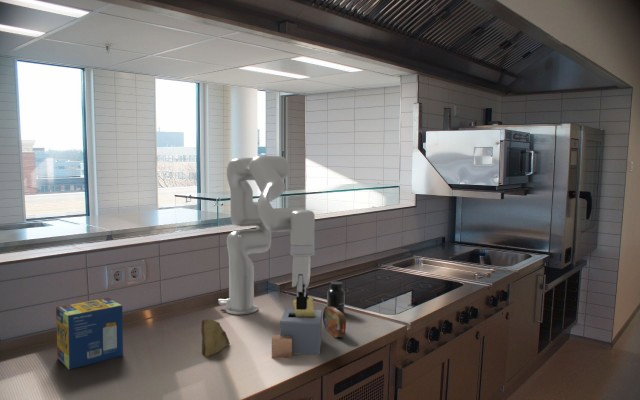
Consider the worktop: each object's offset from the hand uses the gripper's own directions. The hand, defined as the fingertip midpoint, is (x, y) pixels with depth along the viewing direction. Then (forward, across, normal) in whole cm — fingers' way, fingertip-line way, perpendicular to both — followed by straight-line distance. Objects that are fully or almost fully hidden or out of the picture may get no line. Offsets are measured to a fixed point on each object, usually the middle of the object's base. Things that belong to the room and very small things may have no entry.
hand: (302, 307), depth 150 cm
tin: (+13, -13, +10) cm, 21 cm away
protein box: (+13, +14, -61) cm, 64 cm away
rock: (+13, +5, -26) cm, 29 cm away
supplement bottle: (+13, -35, +10) cm, 39 cm away
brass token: (+3, 0, +1) cm, 4 cm away
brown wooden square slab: (+13, +8, -5) cm, 16 cm away
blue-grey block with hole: (+13, 0, 0) cm, 13 cm away
